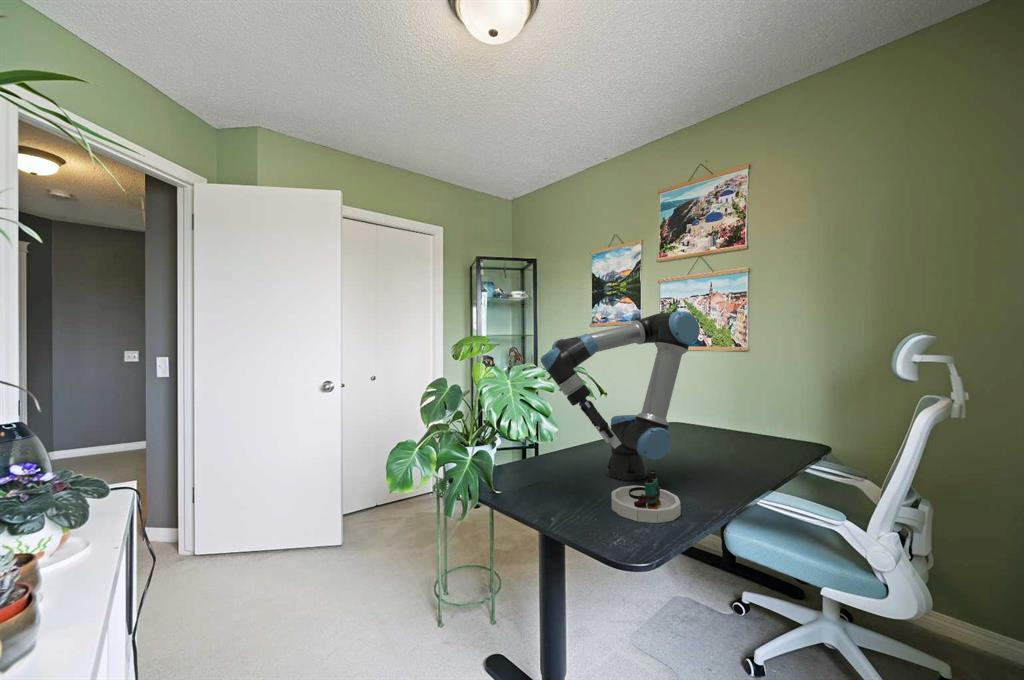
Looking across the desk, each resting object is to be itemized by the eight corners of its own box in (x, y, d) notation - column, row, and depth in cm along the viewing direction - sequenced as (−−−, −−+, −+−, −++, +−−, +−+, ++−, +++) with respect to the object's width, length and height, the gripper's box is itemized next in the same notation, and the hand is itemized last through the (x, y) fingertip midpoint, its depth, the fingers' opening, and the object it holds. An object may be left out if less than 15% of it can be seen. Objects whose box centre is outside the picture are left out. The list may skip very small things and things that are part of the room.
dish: (599, 509, 131) (599, 498, 131) (630, 491, 145) (630, 481, 145) (662, 529, 117) (662, 516, 117) (689, 507, 132) (689, 496, 132)
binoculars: (630, 467, 138) (661, 469, 133) (634, 500, 137) (665, 502, 132) (622, 475, 130) (655, 477, 125) (626, 509, 130) (659, 513, 125)
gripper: (563, 396, 152) (599, 445, 149) (568, 397, 127) (611, 455, 124) (580, 384, 152) (616, 433, 149) (588, 382, 128) (631, 440, 125)
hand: (614, 443), depth 137 cm, fingers open, 13 cm apart
